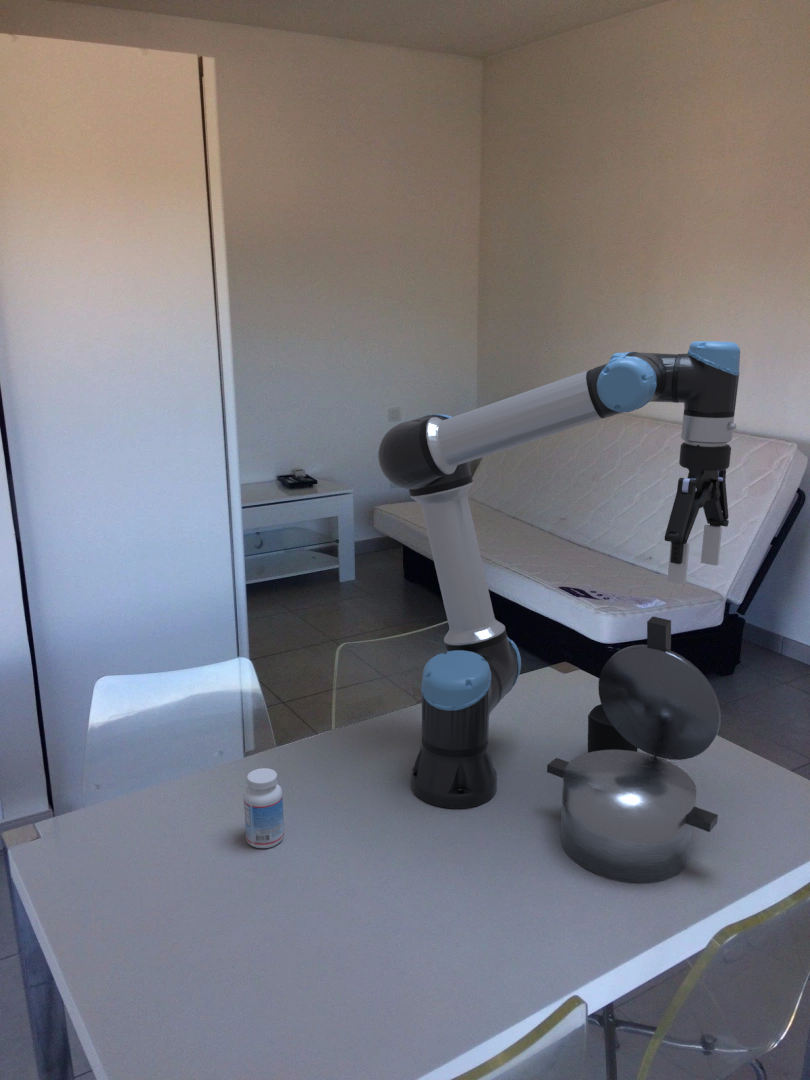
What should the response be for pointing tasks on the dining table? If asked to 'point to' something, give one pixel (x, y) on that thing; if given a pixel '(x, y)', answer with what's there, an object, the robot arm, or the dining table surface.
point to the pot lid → (659, 697)
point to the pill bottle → (263, 809)
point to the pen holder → (604, 733)
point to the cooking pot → (628, 815)
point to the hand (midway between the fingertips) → (693, 573)
